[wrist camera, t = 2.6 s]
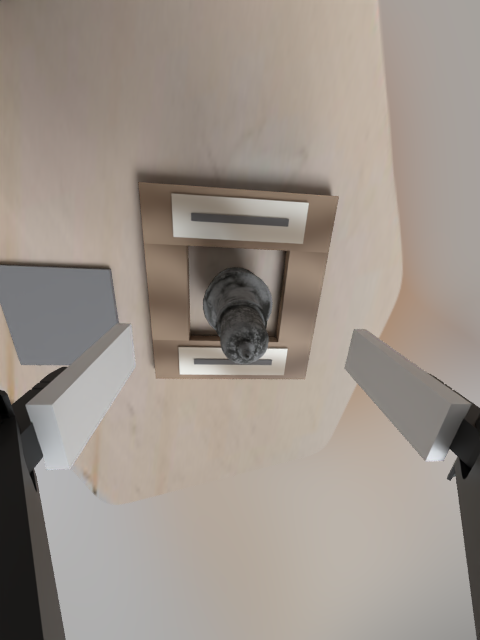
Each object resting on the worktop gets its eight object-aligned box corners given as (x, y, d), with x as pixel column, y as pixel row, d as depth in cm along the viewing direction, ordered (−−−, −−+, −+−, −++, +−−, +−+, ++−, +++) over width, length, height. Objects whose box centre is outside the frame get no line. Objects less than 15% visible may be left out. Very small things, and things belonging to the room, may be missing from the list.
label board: (143, 184, 19) (136, 181, 18) (332, 197, 21) (340, 195, 19) (158, 371, 26) (155, 380, 25) (301, 373, 27) (305, 380, 26)
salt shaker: (196, 276, 22) (170, 326, 11) (255, 255, 22) (289, 287, 11) (217, 329, 25) (214, 416, 14) (272, 311, 24) (314, 385, 13)
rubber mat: (-9, 264, 21) (-13, 264, 20) (110, 269, 22) (108, 270, 21) (23, 362, 24) (20, 364, 24) (124, 363, 25) (122, 365, 25)
